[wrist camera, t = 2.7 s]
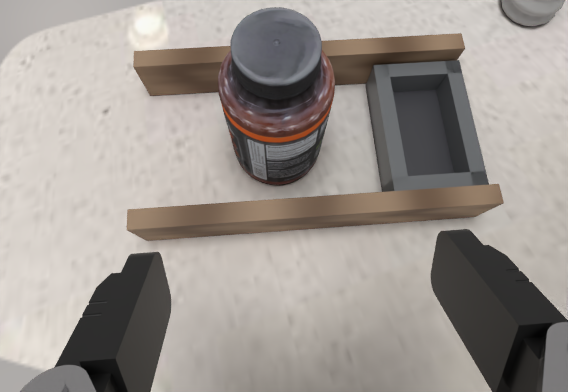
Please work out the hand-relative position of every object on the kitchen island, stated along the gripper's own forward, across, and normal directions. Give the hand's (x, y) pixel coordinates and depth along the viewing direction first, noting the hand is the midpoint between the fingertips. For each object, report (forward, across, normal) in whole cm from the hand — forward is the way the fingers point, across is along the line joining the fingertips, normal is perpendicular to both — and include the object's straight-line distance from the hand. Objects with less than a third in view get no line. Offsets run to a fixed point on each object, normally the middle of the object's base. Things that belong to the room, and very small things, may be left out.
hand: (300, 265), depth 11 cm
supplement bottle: (+17, 0, +3) cm, 17 cm away
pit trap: (+17, -10, +3) cm, 20 cm away
